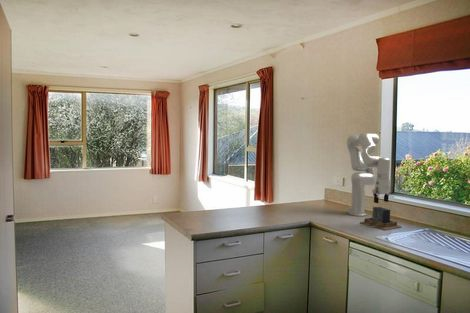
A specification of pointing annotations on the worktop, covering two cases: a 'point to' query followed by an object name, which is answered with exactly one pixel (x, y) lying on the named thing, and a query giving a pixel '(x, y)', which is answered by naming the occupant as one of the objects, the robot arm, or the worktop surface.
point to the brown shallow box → (380, 224)
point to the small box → (381, 215)
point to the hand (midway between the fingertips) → (381, 202)
